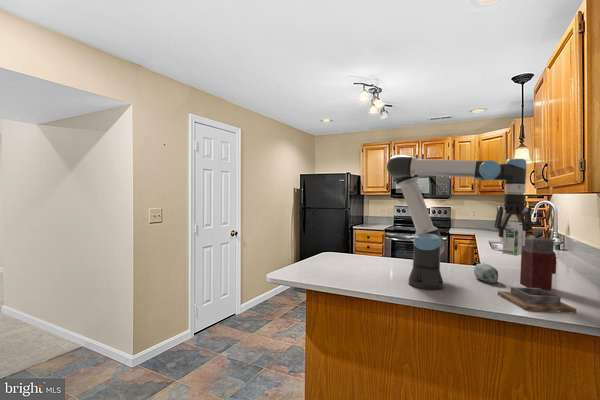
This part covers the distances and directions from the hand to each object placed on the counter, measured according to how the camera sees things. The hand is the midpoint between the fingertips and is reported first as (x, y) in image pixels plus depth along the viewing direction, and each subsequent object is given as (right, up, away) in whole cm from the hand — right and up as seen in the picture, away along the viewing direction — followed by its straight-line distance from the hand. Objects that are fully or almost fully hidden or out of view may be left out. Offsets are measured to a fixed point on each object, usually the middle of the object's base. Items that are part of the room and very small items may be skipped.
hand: (512, 244), depth 138 cm
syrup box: (0, -4, 0) cm, 4 cm away
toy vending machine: (+18, -21, +8) cm, 29 cm away
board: (-1, -21, -15) cm, 26 cm away
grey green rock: (-2, -21, +17) cm, 27 cm away
